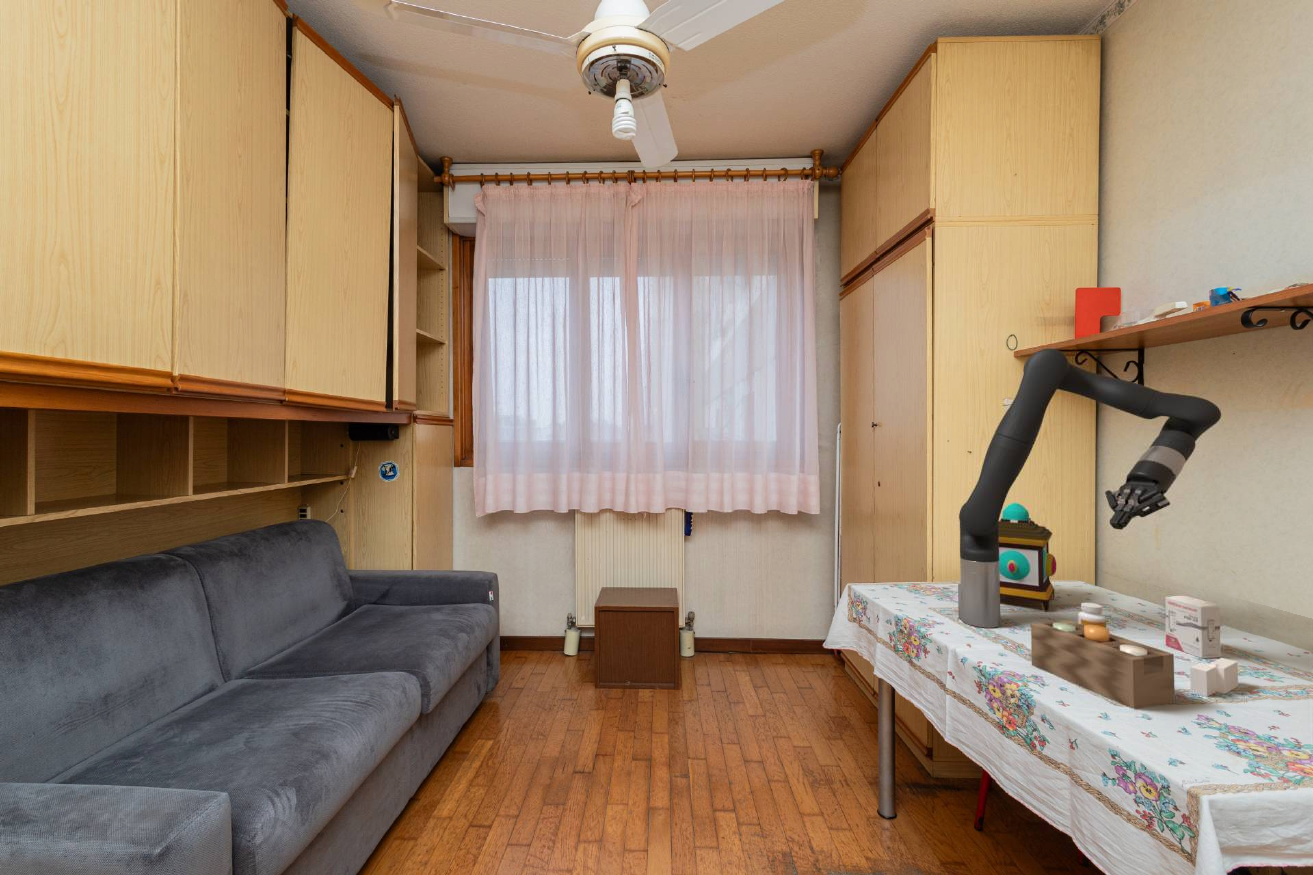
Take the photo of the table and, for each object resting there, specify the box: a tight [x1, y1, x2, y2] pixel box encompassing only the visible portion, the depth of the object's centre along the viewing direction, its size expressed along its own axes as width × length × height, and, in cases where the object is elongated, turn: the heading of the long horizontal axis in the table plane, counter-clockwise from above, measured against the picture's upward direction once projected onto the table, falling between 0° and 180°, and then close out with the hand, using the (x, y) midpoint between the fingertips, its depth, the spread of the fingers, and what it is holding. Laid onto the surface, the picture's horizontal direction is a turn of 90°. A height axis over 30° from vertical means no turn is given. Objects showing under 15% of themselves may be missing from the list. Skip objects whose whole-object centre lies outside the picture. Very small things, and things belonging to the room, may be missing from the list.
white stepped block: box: [1189, 657, 1239, 698], centre depth 110 cm, size 15×11×6 cm
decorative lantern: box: [998, 502, 1057, 613], centre depth 172 cm, size 20×20×30 cm
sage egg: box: [1053, 622, 1076, 632], centre depth 121 cm, size 4×4×3 cm
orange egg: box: [1084, 625, 1110, 643], centre depth 114 cm, size 4×4×3 cm
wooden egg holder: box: [1030, 619, 1176, 710], centre depth 114 cm, size 21×10×9 cm, turn 14°
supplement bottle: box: [1077, 602, 1107, 628], centre depth 134 cm, size 5×5×10 cm
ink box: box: [1165, 595, 1222, 659], centre depth 130 cm, size 9×5×12 cm, turn 5°
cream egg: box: [1120, 645, 1147, 656], centre depth 107 cm, size 4×4×3 cm
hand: (1115, 526), depth 124 cm, fingers closed
